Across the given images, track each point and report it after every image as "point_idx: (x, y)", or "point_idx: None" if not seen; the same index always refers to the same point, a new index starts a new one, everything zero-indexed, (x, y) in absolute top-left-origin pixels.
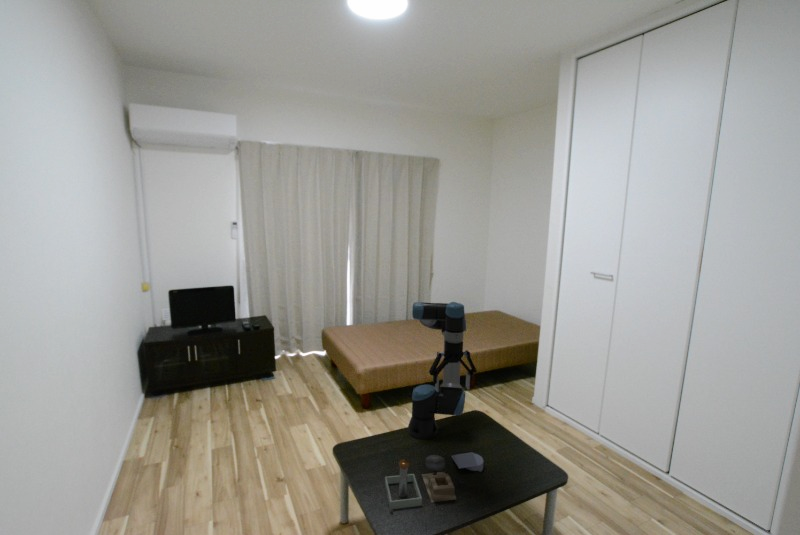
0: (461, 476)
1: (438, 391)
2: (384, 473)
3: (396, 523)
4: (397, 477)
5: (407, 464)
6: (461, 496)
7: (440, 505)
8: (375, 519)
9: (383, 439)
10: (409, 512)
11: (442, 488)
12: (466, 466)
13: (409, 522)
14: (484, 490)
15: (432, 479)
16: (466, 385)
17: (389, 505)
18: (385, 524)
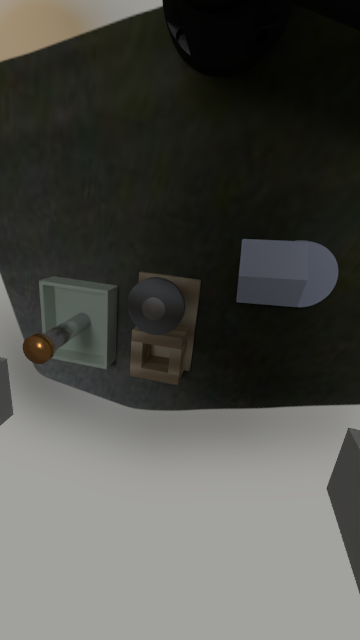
0: None
1: (10, 416)
2: (56, 232)
3: (64, 374)
4: (69, 287)
5: (44, 360)
6: (207, 359)
7: None
8: None
9: (68, 44)
10: None
11: (149, 378)
12: (260, 302)
13: (86, 380)
14: (270, 361)
15: (136, 345)
16: (351, 475)
17: None
18: (46, 370)
